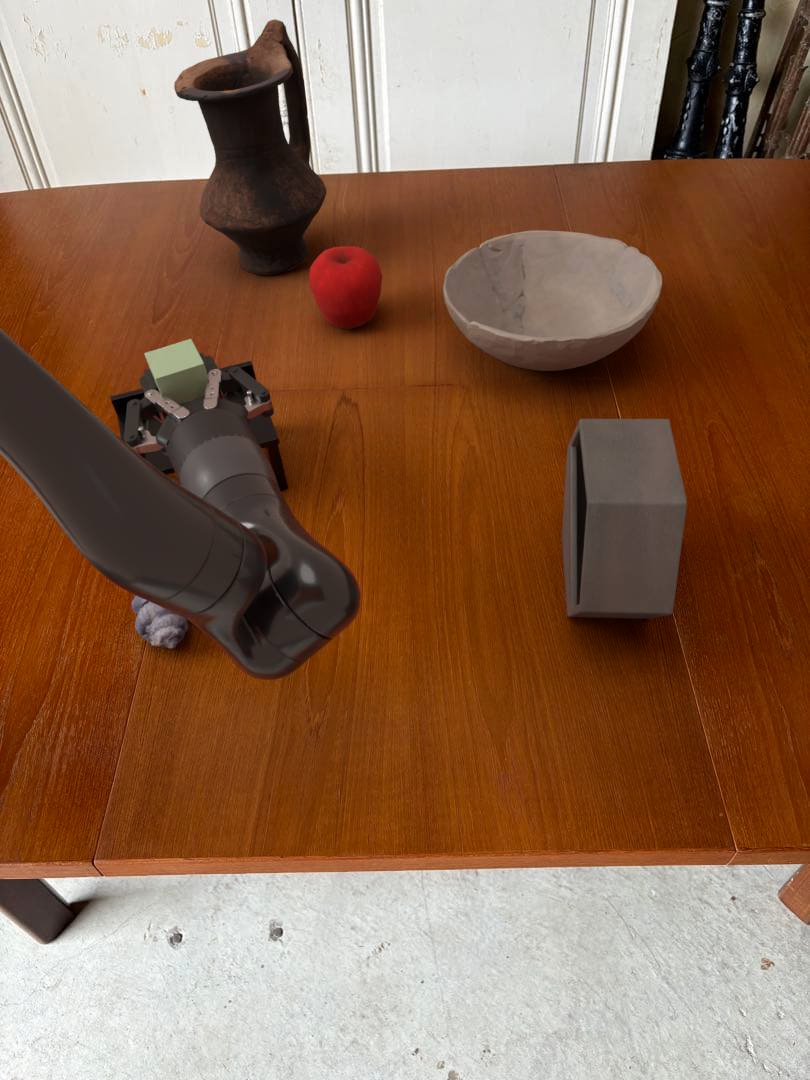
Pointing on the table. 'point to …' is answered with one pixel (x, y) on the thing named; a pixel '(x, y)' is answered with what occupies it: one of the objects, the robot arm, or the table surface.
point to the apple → (346, 285)
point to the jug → (257, 151)
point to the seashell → (158, 624)
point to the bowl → (551, 297)
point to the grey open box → (622, 519)
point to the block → (178, 371)
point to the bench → (258, 424)
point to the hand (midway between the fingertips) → (175, 369)
